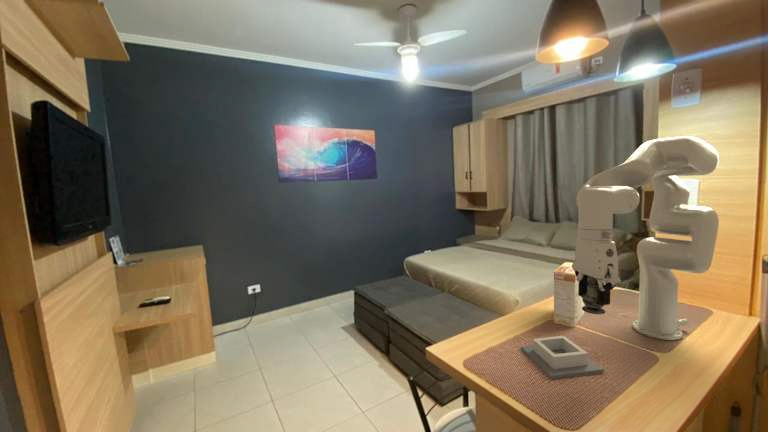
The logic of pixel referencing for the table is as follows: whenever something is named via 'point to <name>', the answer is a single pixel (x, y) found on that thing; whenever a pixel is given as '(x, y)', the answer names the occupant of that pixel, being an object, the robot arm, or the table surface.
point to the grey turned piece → (592, 297)
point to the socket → (560, 358)
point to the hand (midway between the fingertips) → (593, 299)
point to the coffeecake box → (567, 296)
